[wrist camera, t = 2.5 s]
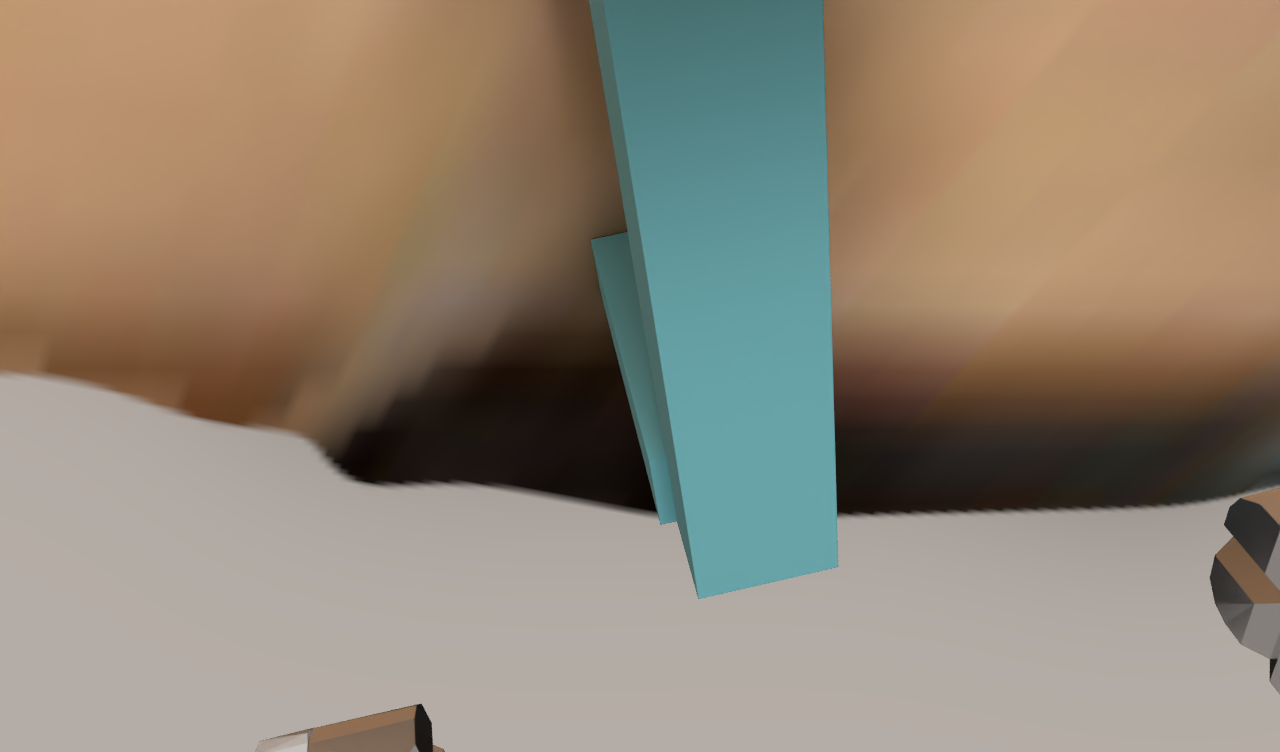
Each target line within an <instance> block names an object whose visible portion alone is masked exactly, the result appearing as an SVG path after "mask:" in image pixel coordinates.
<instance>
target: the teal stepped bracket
mask: <svg viewBox="0 0 1280 752" xmlns="http://www.w3.org/2000/svg"><path fill="white" fill-rule="evenodd" d="M589 5H590V11H591V17H592V23H593V29H594V35H595V41H596V47H597V53H598V59H599V65H600V71H601V76H602V82H603V88H604V94H605V100H606V106H607V112H608V118H609V124H610V130H611V136H612V142H613V148H614V154H615V160H616V166H617V172H618V178H619V184H620V190H621V196H622V202H623V208H624V214H625V219H626V225H627V231H628V232H625V233H620V234H615V235H611V236H606V237H601V238H596V239H592V240H591V245H592V250H593V255H594V260H595V265H596V270H597V275H598V281H599V286H600V291H601V296H602V300H603V304H604V308H605V312H606V316H607V320H608V324H609V327H610V331H611V335H612V339H613V343H614V347H615V351H616V354H617V358H618V362H619V366H620V370H621V374H622V378H623V381H624V385H625V389H626V393H627V397H628V401H629V405H630V408H631V412H632V416H633V420H634V424H635V428H636V432H637V435H638V439H639V443H640V447H641V451H642V455H643V459H644V462H645V466H646V470H647V474H648V478H649V482H650V486H651V489H652V493H653V497H654V501H655V505H656V509H657V513H658V516H659V520H660V524H661V525H662V524H666V523H671V522H675V521H677V523H678V527H679V530H680V534H681V537H682V541H683V545H684V548H685V552H686V555H687V559H688V563H689V566H690V570H691V573H692V577H693V581H694V584H695V588H696V592H697V595H698V599H700V598H705V597H709V596H714V595H718V594H723V593H727V592H731V591H736V590H740V589H745V588H749V587H753V586H757V585H762V584H766V583H770V582H775V581H779V580H784V579H788V578H792V577H797V576H801V575H805V574H810V573H814V572H819V571H823V570H827V569H832V568H836V567H838V547H837V546H838V545H837V544H838V542H837V505H836V468H835V432H834V395H833V358H832V321H831V284H830V248H829V211H828V174H827V137H826V100H825V64H824V27H823V0H589Z"/></svg>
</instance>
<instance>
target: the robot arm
mask: <svg viewBox="0 0 1280 752" xmlns="http://www.w3.org/2000/svg"><path fill="white" fill-rule="evenodd" d="M1224 526H1225V527H1226V528H1227V529H1228V530H1229V532H1230V533H1231V534H1232V535H1233V537H1232V538H1231V539H1230V541H1229V542H1228V543H1227V544H1226V545H1225V546H1224V547H1223V548H1222V549H1221V550H1220V551H1219V552H1218V553H1217V554H1216V555H1215V557H1214V562H1213V566H1212V570H1211V575H1210V581H1211V586H1212V591H1213V596H1214V600H1215V604H1216V606H1217V608H1218V610H1219V612H1220V614H1221V616H1222V618H1223V620H1224V622H1225V624H1226V625H1227V626H1228V628H1229V629H1230V631H1231V632H1232V633H1233V635H1234V636H1235V637H1236V639H1237V640H1238V641H1239V643H1240V644H1241V645H1243V646H1245V647H1247V648H1250V649H1251V650H1253V651H1255V652H1257V653H1259V654H1261V655H1263V656H1265V657H1267V658H1269V659H1270V682H1271V684H1272V685H1273V686H1274V687H1275V689H1276V690H1277V691H1278V692H1279V694H1280V488H1276V489H1272V490H1269V491H1265V492H1261V493H1257V494H1254V495H1250V496H1246V497H1242V498H1240V499H1239V500H1237V501H1236V502H1235V503H1234V504H1233V505H1232V506H1230V508H1229V511H1228V514H1227V517H1226V520H1225V523H1224ZM255 752H445V751H444V749H442V748H439V747H437V746H435V745H433V739H432V723H431V721H430V719H429V717H428V715H427V713H426V711H425V709H424V707H423V706H422V704H417V705H413V706H409V707H404V708H400V709H395V710H391V711H387V712H382V713H378V714H373V715H369V716H365V717H361V718H356V719H352V720H347V721H343V722H339V723H334V724H330V725H326V726H321V727H317V728H311V729H307V730H303V731H299V732H295V733H290V734H287V735H283V736H278V737H275V738H270V739H266V740H262V741H259V744H258V746H257V749H256V751H255Z"/></svg>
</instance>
